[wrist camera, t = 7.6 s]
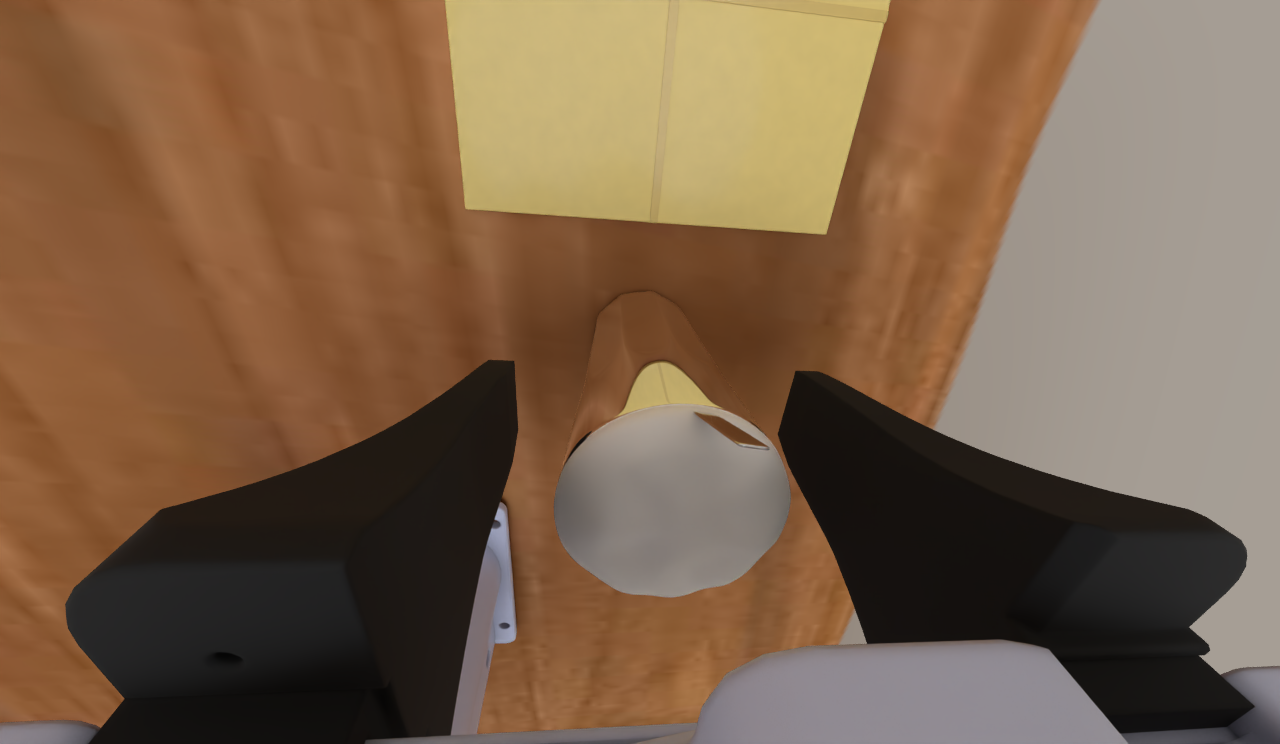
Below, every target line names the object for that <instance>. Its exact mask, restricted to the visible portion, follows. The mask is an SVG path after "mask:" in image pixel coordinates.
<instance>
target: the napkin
mask: <svg viewBox="0 0 1280 744" xmlns="http://www.w3.org/2000/svg"><path fill="white" fill-rule="evenodd" d="M890 1H891V0H445V7H446V17H447V27H448V38H449V48H450V58H451V68H452V78H453V88H454V99H455V109H456V119H457V129H458V139H459V150H460V160H461V170H462V180H463V190H464V200H465V209H467V210H482V211H496V212H510V213H524V214H538V215H553V216H567V217H581V218H595V219H610V220H624V221H638V222H650V223H666V224H681V225H695V226H709V227H723V228H738V229H752V230H766V231H780V232H794V233H809V234H823V235H825V234H826V233H827V230H828V226H829V222H830V219H831V215H832V211H833V208H834V204H835V200H836V197H837V193H838V190H839V186H840V182H841V179H842V175H843V171H844V168H845V164H846V160H847V157H848V153H849V150H850V146H851V142H852V139H853V135H854V131H855V128H856V124H857V120H858V117H859V113H860V110H861V106H862V102H863V99H864V95H865V91H866V88H867V84H868V81H869V77H870V73H871V70H872V66H873V62H874V59H875V55H876V51H877V48H878V44H879V41H880V37H881V33H882V30H883V26H884V23H886V20H887V16H888V13H889V11H888V8H889V4H890Z"/></svg>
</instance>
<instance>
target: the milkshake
mask: <svg viewBox="0 0 1280 744" xmlns="http://www.w3.org/2000/svg"><path fill="white" fill-rule="evenodd" d="M790 501H791V495H790V486H789V481H788V477H787V474H786V471H785V468H784V465H783V462H782V460H781V458H780V456H779V454H778V452H777V450H776V448H775V447H774V445H773V444H772V442H771V441H770V440H769V439H768V437H767V436H766V435H765V433H764V432H763V430H762V429H761V428H760V426H759V425H758V424H757V422H756V421H755V419H754V418H753V417H752V415H751V414H750V412H749V411H748V410H747V408H746V407H745V405H744V404H743V403H742V401H741V400H740V398H739V397H738V396H737V394H736V393H735V392H734V390H733V389H732V387H731V386H730V385H729V383H728V382H727V380H726V379H725V378H724V376H723V375H722V373H721V372H720V370H719V369H718V367H717V366H716V364H715V362H714V361H713V359H712V358H711V356H710V355H709V353H708V351H707V350H706V348H705V347H704V345H703V344H702V342H701V341H700V339H699V337H698V336H697V334H696V333H695V331H694V330H693V328H692V326H691V325H690V323H689V322H688V320H687V319H686V317H685V316H684V314H683V312H682V311H681V309H680V308H679V306H678V305H677V304H675V303H673V302H671V301H669V300H668V299H666V298H664V297H662V296H660V295H659V294H657V293H655V292H653V291H644V292H635V293H625V294H621V295H619V296H618V297H617V298H616V299H615V300H614V301H613V302H611V303H610V304H609V305H608V306H607V307H606V308H605V309H603V310H602V311H601V312H600V313H599V314H598V318H597V323H596V329H595V334H594V338H593V343H592V348H591V354H590V359H589V364H588V369H587V375H586V379H585V384H584V388H583V391H582V395H581V398H580V401H579V404H578V408H577V411H576V415H575V418H574V422H573V426H572V429H571V433H570V437H569V441H568V445H567V448H566V452H565V456H564V460H563V464H562V468H561V472H560V476H559V480H558V484H557V488H556V493H555V499H554V518H555V524H556V529H557V532H558V535H559V538H560V540H561V542H562V545H563V546H564V548H565V550H566V551H567V552H568V554H569V555H570V556H571V557H572V558H573V559H574V560H575V561H576V562H577V563H578V564H579V565H581V566H582V567H583V568H585V569H586V570H587V571H589V572H590V573H592V574H593V575H594V576H596V577H597V578H599V579H600V580H602V581H603V582H604V583H606V584H607V585H609V586H610V587H612V588H614V589H616V590H618V591H621V592H624V593H628V594H635V595H653V596H660V597H679V596H683V595H687V594H690V593H693V592H695V591H698V590H701V589H705V588H711V587H718V586H723V585H726V584H729V583H731V582H733V581H734V580H736V579H738V578H739V577H741V576H742V575H744V574H745V573H746V572H747V571H748V570H749V569H750V568H751V567H752V566H753V565H754V564H755V563H756V562H757V561H758V560H759V558H760V557H761V556H762V555H763V554H764V553H765V552H766V551H767V550H768V549H769V548H770V547H772V546H773V545H774V543H775V542H776V541H777V540H778V538H779V536H780V534H781V532H782V530H783V527H784V525H785V523H786V520H787V517H788V513H789V508H790Z"/></svg>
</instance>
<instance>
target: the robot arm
mask: <svg viewBox="0 0 1280 744" xmlns="http://www.w3.org/2000/svg"><path fill="white" fill-rule="evenodd" d="M517 433H518V417H517V400H516V382H515V364H514V361H503V360H488V361H487V362H485V363H484V364H482V365H481V366H480V367H478V368H477V369H476V370H474V371H473V372H472V373H470V374H469V375H468V376H466V377H465V378H464V379H463V380H461V381H460V382H459V383H457V384H456V385H454V386H453V387H452V388H450V389H449V390H448V391H446V392H445V393H444V394H442V395H441V396H439V397H438V398H436V399H435V400H433V401H432V402H430V403H429V404H427V405H426V406H424V407H423V408H421V409H419V410H418V411H416V412H415V413H413V414H412V415H410V416H409V417H407V418H405V419H404V420H402V421H400V422H398V423H397V424H395V425H393V426H391V427H389V428H387V429H385V430H384V431H382V432H380V433H378V434H376V435H374V436H372V437H370V438H368V439H366V440H364V441H362V442H360V443H357V444H355V445H353V446H350V447H348V448H346V449H343V450H341V451H339V452H337V453H334V454H332V455H330V456H327V457H325V458H323V459H320V460H318V461H315V462H313V463H310V464H308V465H305V466H302V467H299V468H297V469H294V470H291V471H289V472H286V473H283V474H280V475H277V476H274V477H271V478H268V479H265V480H262V481H259V482H256V483H253V484H250V485H247V486H243V487H240V488H237V489H233V490H229V491H226V492H222V493H219V494H215V495H212V496H208V497H205V498H201V499H197V500H194V501H190V502H187V503H183V504H180V505H176V506H172V507H168V508H164V509H161V510H160V511H159V512H158V513H157V514H155V515H154V516H153V517H152V518H151V519H150V520H149V521H148V522H147V523H145V524H144V525H143V526H142V527H141V528H140V529H139V530H138V531H137V532H136V533H134V534H133V535H132V536H131V537H130V538H129V539H128V540H127V541H126V542H124V543H123V544H122V545H121V546H120V547H119V548H118V549H117V550H116V551H114V552H113V553H112V554H111V555H110V556H109V557H108V558H107V559H106V560H104V561H103V562H102V563H101V564H100V565H99V566H98V567H97V568H96V569H94V570H93V571H92V572H91V573H90V574H89V575H88V576H87V577H86V578H84V579H83V580H82V581H81V582H80V583H79V584H78V585H77V586H76V587H74V589H73V591H72V593H71V594H70V596H69V598H68V600H67V602H66V604H65V606H66V618H67V625H68V629H69V631H70V632H71V634H72V636H73V637H74V639H75V641H76V642H77V644H78V645H79V647H80V648H81V649H82V650H83V651H84V652H85V653H86V655H87V656H88V657H89V658H90V659H91V660H92V662H93V663H94V664H95V665H96V666H97V667H98V668H99V670H100V671H101V672H102V673H103V674H104V675H105V676H106V678H107V679H108V680H109V681H110V682H111V683H112V685H113V686H114V687H115V688H116V689H117V690H118V691H119V693H120V694H121V695H122V696H123V697H124V698H125V699H124V701H123V702H122V703H121V704H120V705H119V707H118V708H117V709H116V710H115V712H114V713H113V714H112V715H111V717H110V718H109V719H108V720H107V721H106V723H105V724H104V725H103V726H102V728H100V727H98V726H96V725H93V724H89V723H86V722H82V721H73V720H48V721H25V722H2V723H0V744H1280V666H1270V667H1247V668H1239V669H1235V670H1231V671H1229V672H1226V673H1223V674H1221V675H1220V674H1218V673H1217V672H1216V671H1215V670H1214V669H1213V668H1212V667H1211V666H1210V665H1208V664H1207V663H1206V662H1205V661H1204V660H1203V659H1202V658H1201V657H1199V655H1205V654H1207V653H1208V652H1209V651H1210V648H1209V645H1208V644H1207V643H1206V642H1205V641H1204V640H1203V639H1202V638H1201V637H1199V636H1198V635H1197V634H1196V633H1195V632H1194V631H1192V630H1191V629H1190V628H1189V626H1191V625H1192V624H1193V623H1194V622H1195V621H1196V620H1197V619H1198V618H1199V617H1201V616H1202V614H1204V613H1205V612H1206V611H1207V610H1208V609H1209V608H1210V607H1211V606H1212V605H1214V604H1215V603H1216V602H1217V601H1218V600H1219V599H1220V598H1221V597H1222V596H1223V595H1224V594H1226V593H1227V592H1228V591H1229V590H1230V588H1231V587H1232V586H1233V585H1234V584H1235V583H1236V582H1237V581H1238V580H1239V578H1240V576H1241V575H1242V573H1243V571H1244V569H1245V567H1246V560H1247V550H1246V548H1245V546H1244V544H1243V543H1242V541H1241V540H1240V539H1239V538H1237V537H1236V536H1234V535H1233V534H1231V533H1229V532H1228V531H1227V530H1225V529H1224V528H1222V527H1221V526H1219V525H1218V524H1216V523H1215V522H1213V521H1212V520H1210V519H1208V518H1207V517H1205V516H1203V515H1201V514H1198V513H1196V512H1194V511H1191V510H1189V509H1185V508H1180V507H1176V506H1172V505H1167V504H1163V503H1159V502H1154V501H1150V500H1146V499H1141V498H1137V497H1133V496H1129V495H1124V494H1119V493H1115V492H1111V491H1108V490H1104V489H1100V488H1096V487H1093V486H1089V485H1086V484H1082V483H1079V482H1075V481H1071V480H1068V479H1064V478H1061V477H1057V476H1054V475H1051V474H1048V473H1045V472H1041V471H1038V470H1035V469H1032V468H1029V467H1026V466H1023V465H1021V464H1018V463H1015V462H1012V461H1009V460H1006V459H1003V458H1000V457H997V456H995V455H992V454H990V453H987V452H984V451H981V450H979V449H976V448H974V447H972V446H969V445H967V444H964V443H962V442H960V441H957V440H955V439H953V438H950V437H948V436H945V435H943V434H941V433H939V432H937V431H934V430H932V429H930V428H928V427H926V426H924V425H922V424H920V423H918V422H916V421H914V420H912V419H910V418H908V417H906V416H904V415H902V414H900V413H898V412H896V411H894V410H892V409H890V408H889V407H887V406H885V405H883V404H881V403H879V402H877V401H876V400H874V399H872V398H870V397H868V396H866V395H865V394H863V393H861V392H859V391H857V390H855V389H854V388H852V387H850V386H848V385H846V384H844V383H842V382H840V381H838V380H836V379H834V378H832V377H830V376H828V375H826V374H823V373H821V372H817V371H795V375H794V379H793V382H792V386H791V389H790V393H789V396H788V400H787V403H786V407H785V411H784V414H783V418H782V421H781V425H780V428H779V432H778V436H779V439H780V443H781V446H782V449H783V452H784V455H785V457H786V460H787V463H788V466H789V468H790V470H791V472H792V474H793V476H794V478H795V480H796V482H797V483H798V485H799V487H800V489H801V491H802V493H803V495H804V497H805V499H806V501H807V502H808V504H809V506H810V508H811V510H812V512H813V514H814V516H815V518H816V519H817V521H818V523H819V525H820V527H821V529H822V531H823V533H824V534H825V536H826V538H827V541H828V543H829V545H830V547H831V549H832V551H833V553H834V555H835V558H836V561H837V563H838V566H839V568H840V571H841V573H842V576H843V578H844V581H845V583H846V586H847V588H848V591H849V594H850V596H851V599H852V602H853V605H854V607H855V610H856V613H857V616H858V619H859V621H860V624H861V627H862V630H863V633H864V636H865V638H866V642H867V644H856V645H855V644H853V645H824V646H806V647H800V648H795V649H789V650H784V651H778V652H773V653H768V654H763V655H761V656H759V657H757V658H755V659H753V660H751V661H750V662H748V663H746V664H744V665H742V666H740V667H738V668H736V669H734V670H732V671H730V672H728V673H727V674H726V675H725V676H724V678H723V679H722V680H721V682H720V683H719V684H718V685H717V687H716V688H715V689H714V691H713V692H712V693H711V695H710V696H709V697H708V699H707V700H706V702H705V703H704V705H703V706H702V709H701V712H700V716H699V719H698V723H682V724H663V725H643V726H624V727H605V728H586V729H566V730H547V731H528V732H508V733H489V734H477V730H478V725H479V720H480V715H481V710H482V705H483V700H484V695H485V690H486V684H487V679H488V674H489V669H490V664H491V659H492V654H493V649H494V644H495V643H510V642H512V641H514V640H515V639H516V634H517V625H516V613H515V600H514V588H513V575H512V563H511V550H510V538H509V525H508V513H507V507H506V506H505V505H504V504H503V503H501V502H500V501H501V498H502V495H503V492H504V488H505V485H506V482H507V479H508V476H509V472H510V469H511V466H512V462H513V457H514V451H515V446H516V439H517ZM494 520H497V522H496V521H494Z"/></svg>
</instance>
